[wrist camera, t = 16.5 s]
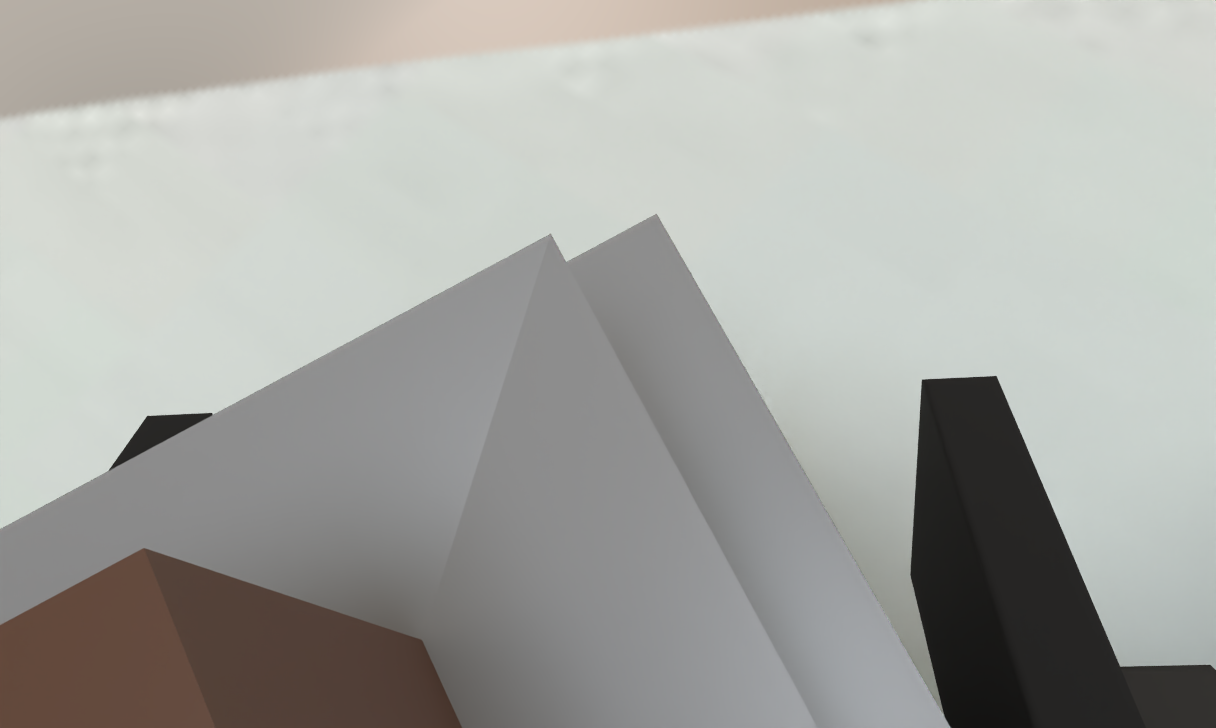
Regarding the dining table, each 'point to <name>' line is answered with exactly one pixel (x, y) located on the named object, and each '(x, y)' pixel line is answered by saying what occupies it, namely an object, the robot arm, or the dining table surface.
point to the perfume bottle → (466, 537)
